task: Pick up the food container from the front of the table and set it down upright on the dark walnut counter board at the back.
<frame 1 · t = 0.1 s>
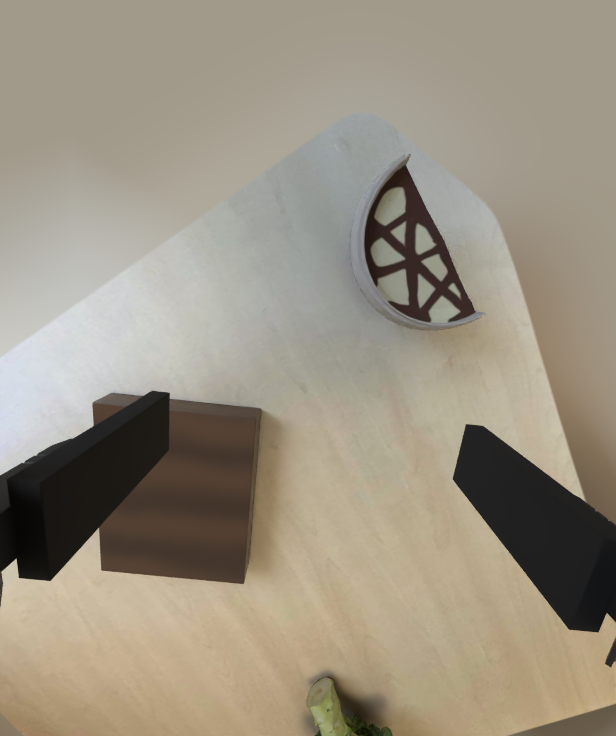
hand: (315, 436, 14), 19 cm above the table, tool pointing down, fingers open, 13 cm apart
food container: (375, 274, 30), on the table
vegetable: (337, 705, 44), on the table
counter board: (184, 483, 35), on the table
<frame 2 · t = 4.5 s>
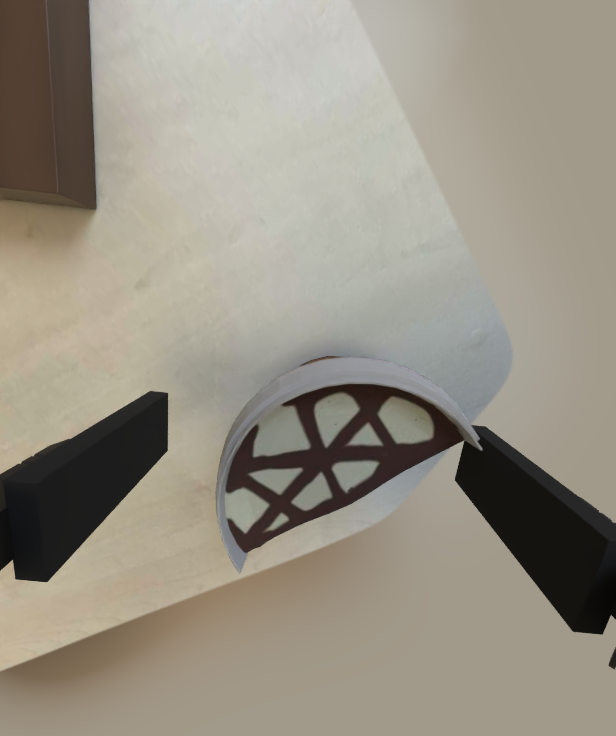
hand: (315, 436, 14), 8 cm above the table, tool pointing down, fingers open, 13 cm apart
food container: (315, 386, 22), on the table, touching gripper
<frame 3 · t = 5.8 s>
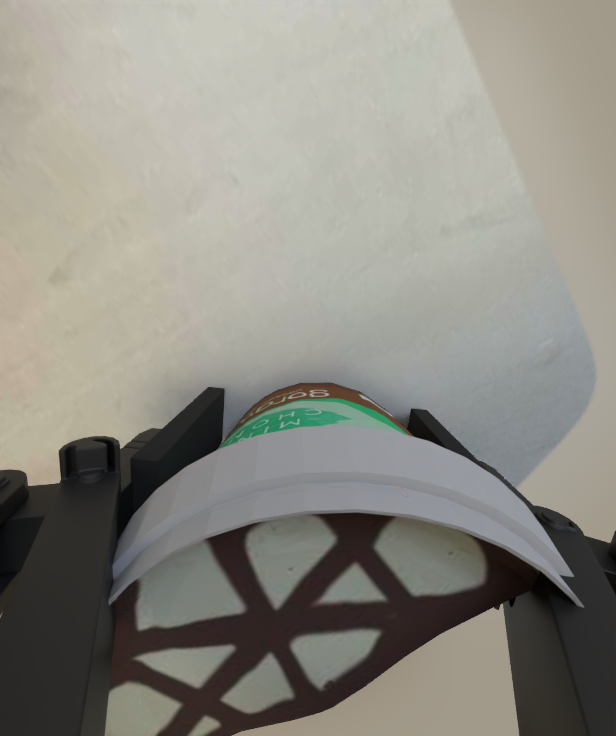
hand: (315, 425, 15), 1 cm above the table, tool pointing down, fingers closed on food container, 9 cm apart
food container: (287, 425, 16), on the table, touching gripper
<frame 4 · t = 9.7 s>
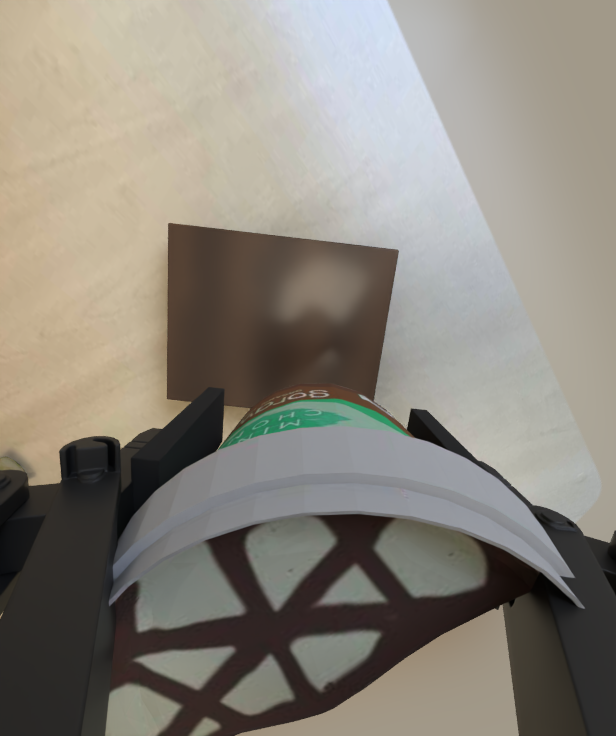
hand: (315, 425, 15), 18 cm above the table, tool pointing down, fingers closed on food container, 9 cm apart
food container: (286, 425, 16), point 17 cm above the table, touching gripper
counter board: (279, 325, 31), on the table
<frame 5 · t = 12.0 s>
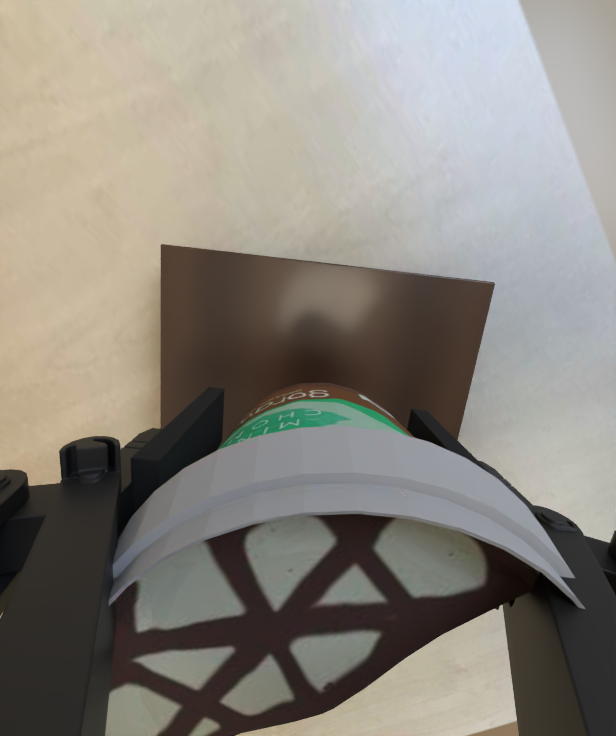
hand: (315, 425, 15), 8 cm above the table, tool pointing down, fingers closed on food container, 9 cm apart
food container: (286, 425, 16), point 8 cm above the table, touching gripper
counter board: (313, 379, 23), on the table
when the fingers open (3 cm above the table, at t = 13.7 s): food container moves 2 cm, resting on counter board.
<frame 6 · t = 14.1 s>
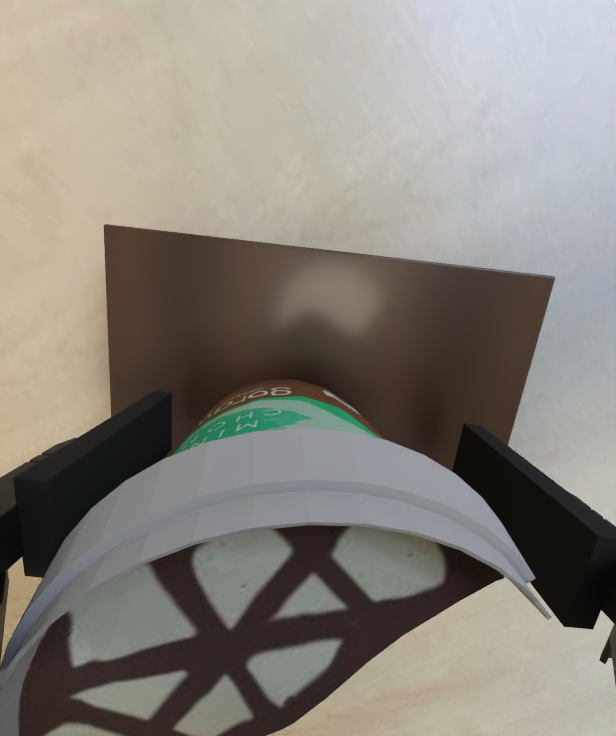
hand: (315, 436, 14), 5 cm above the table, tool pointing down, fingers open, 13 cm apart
food container: (250, 424, 15), point 3 cm above the table, touching counter board, gripper
counter board: (312, 400, 18), on the table
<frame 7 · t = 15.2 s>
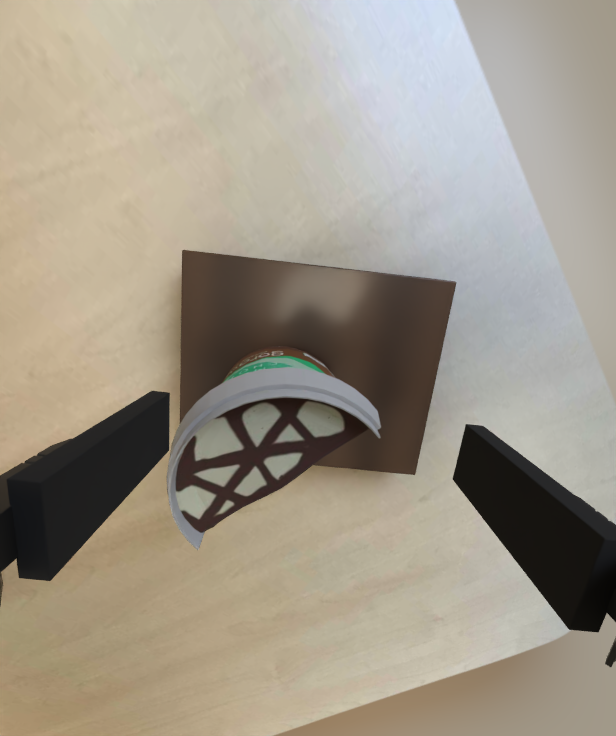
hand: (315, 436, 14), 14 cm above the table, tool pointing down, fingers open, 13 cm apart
food container: (259, 374, 24), point 3 cm above the table, touching counter board
counter board: (308, 364, 27), on the table
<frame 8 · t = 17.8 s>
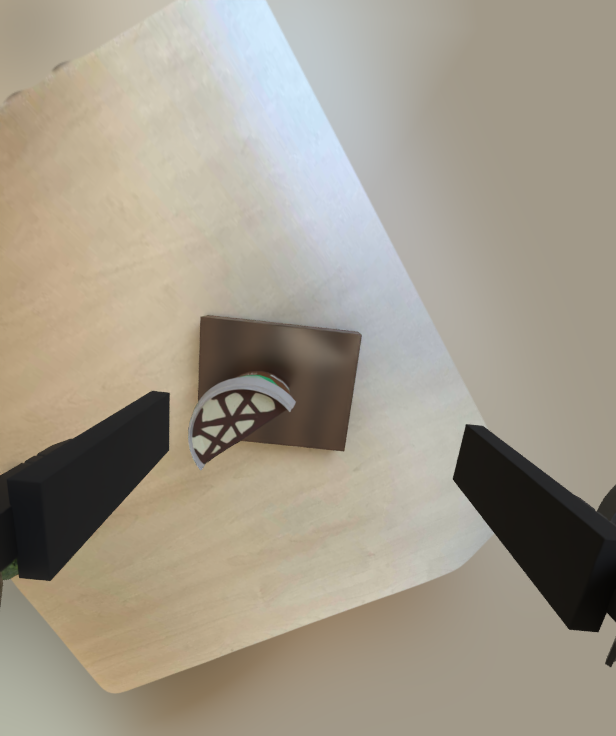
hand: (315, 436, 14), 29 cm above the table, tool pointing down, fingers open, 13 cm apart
food container: (246, 387, 40), point 3 cm above the table, touching counter board
counter board: (278, 381, 43), on the table
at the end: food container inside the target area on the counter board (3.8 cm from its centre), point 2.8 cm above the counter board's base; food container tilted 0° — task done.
